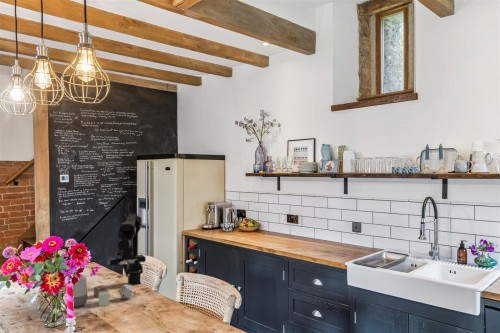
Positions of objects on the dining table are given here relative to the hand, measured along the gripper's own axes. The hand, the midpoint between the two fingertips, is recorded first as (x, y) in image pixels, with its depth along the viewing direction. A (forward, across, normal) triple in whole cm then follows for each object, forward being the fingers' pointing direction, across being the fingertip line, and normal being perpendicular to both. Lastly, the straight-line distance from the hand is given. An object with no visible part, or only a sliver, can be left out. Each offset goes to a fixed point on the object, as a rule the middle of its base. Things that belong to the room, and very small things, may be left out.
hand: (126, 275), depth 207 cm
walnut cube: (+12, +11, -12) cm, 21 cm away
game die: (+13, 0, 0) cm, 13 cm away
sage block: (+12, +12, +2) cm, 17 cm away
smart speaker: (+13, +24, -3) cm, 27 cm away
